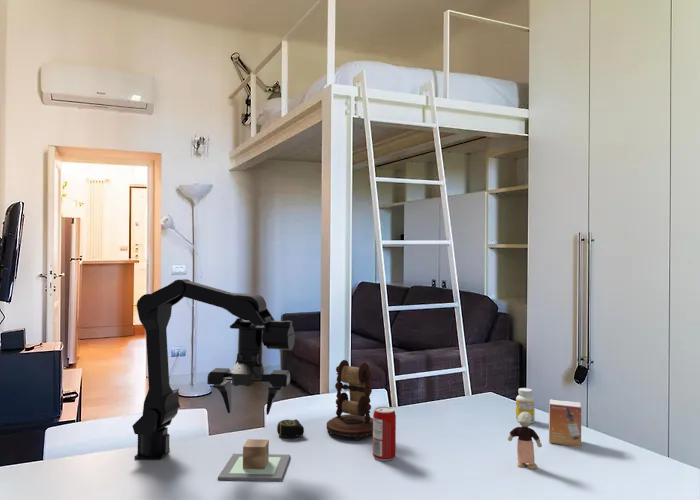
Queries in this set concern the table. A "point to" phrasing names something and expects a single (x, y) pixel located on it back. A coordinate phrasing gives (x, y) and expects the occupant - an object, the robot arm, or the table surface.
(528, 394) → the supplement bottle
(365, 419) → the wooden spool holder
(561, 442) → the small box
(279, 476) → the mat
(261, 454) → the cube
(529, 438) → the grandmother figurine
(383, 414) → the soda can
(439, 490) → the table surface
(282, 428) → the tape measure
